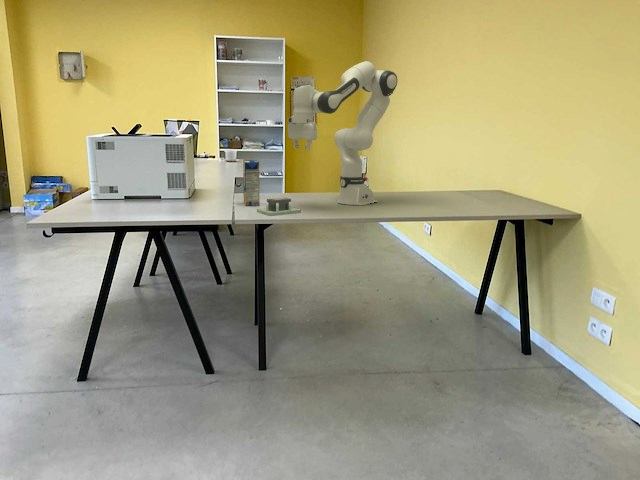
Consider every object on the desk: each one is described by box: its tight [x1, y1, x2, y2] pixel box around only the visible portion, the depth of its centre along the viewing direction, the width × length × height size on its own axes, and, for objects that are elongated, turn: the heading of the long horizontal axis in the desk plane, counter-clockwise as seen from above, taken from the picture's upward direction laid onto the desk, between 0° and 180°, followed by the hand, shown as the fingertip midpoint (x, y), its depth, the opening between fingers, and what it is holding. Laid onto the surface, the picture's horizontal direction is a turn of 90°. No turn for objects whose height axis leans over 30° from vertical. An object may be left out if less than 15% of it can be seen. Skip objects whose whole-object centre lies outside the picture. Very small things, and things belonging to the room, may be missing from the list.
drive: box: [266, 197, 292, 211], centre depth 228 cm, size 10×6×5 cm, turn 127°
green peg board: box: [256, 201, 302, 217], centre depth 228 cm, size 17×12×5 cm
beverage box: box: [242, 159, 260, 207], centre depth 245 cm, size 7×11×22 cm, turn 14°
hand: (302, 148), depth 232 cm, fingers open, 8 cm apart
